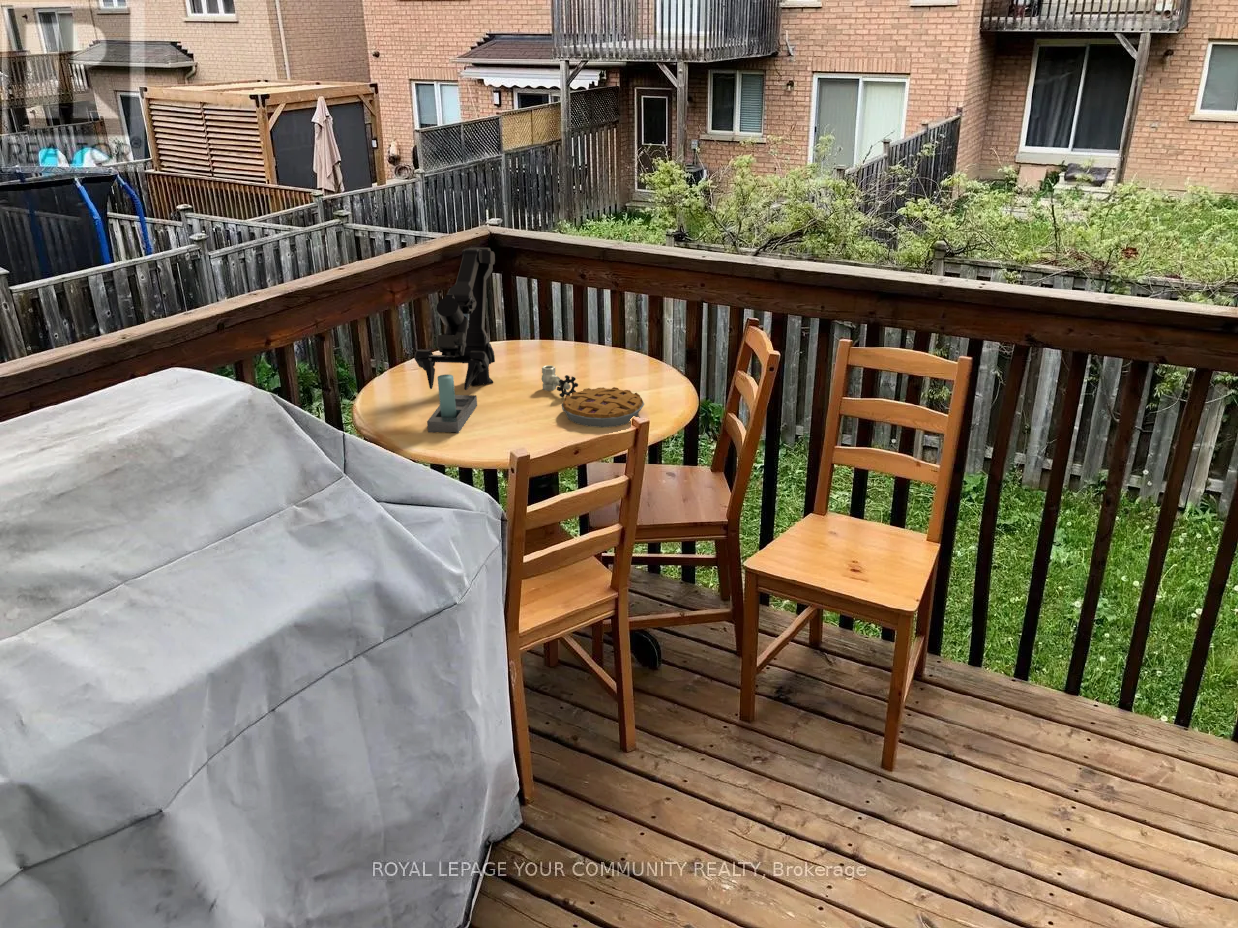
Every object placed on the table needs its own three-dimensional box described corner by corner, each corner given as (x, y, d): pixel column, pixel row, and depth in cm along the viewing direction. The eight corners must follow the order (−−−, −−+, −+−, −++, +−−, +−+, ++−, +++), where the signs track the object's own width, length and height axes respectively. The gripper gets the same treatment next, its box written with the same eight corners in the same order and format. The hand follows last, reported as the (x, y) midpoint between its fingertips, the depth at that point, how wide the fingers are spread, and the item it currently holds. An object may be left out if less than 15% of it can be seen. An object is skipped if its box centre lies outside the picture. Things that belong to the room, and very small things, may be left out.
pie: (656, 407, 271) (656, 389, 269) (623, 435, 253) (623, 416, 251) (584, 396, 279) (583, 379, 277) (547, 423, 261) (546, 405, 259)
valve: (535, 389, 285) (559, 401, 276) (534, 367, 282) (558, 378, 273) (555, 384, 288) (578, 396, 280) (554, 363, 286) (578, 373, 277)
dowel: (438, 424, 261) (434, 377, 256) (451, 420, 263) (447, 373, 258) (447, 428, 258) (443, 380, 253) (460, 424, 261) (456, 377, 255)
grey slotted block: (448, 405, 274) (447, 394, 273) (477, 405, 273) (476, 395, 272) (428, 432, 256) (427, 421, 255) (458, 433, 255) (457, 422, 254)
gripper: (412, 320, 257) (404, 374, 252) (483, 321, 255) (476, 376, 250) (424, 340, 268) (416, 393, 262) (492, 341, 266) (485, 394, 260)
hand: (447, 389), depth 258 cm, fingers open, 9 cm apart
